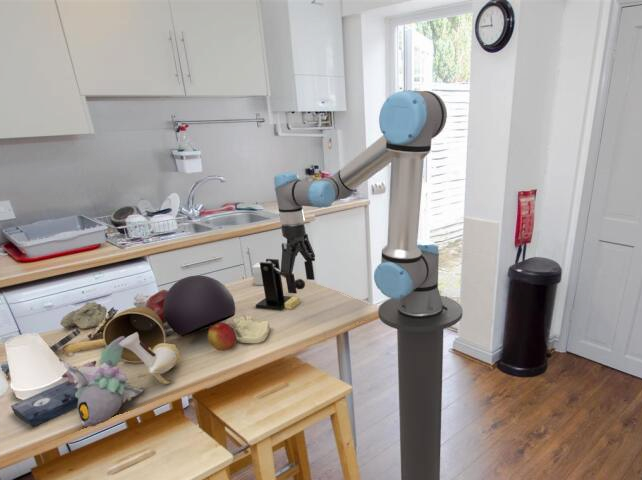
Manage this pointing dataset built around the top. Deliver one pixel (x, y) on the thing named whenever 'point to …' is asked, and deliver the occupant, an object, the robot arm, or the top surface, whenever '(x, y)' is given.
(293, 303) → the butter
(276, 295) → the black lever stand
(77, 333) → the toy
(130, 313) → the plant pot
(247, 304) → the top surface
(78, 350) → the novelty tool
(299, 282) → the slicer arm
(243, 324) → the lumpy plaster cast
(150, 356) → the toy gun
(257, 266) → the white cardboard box
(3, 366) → the wristwatch
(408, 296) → the robot arm
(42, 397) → the vhs cassette tape
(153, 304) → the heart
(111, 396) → the toy
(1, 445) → the top surface
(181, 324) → the dark purple dome
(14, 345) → the cup
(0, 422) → the top surface
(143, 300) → the skull
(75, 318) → the fossil
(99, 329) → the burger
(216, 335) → the apple
